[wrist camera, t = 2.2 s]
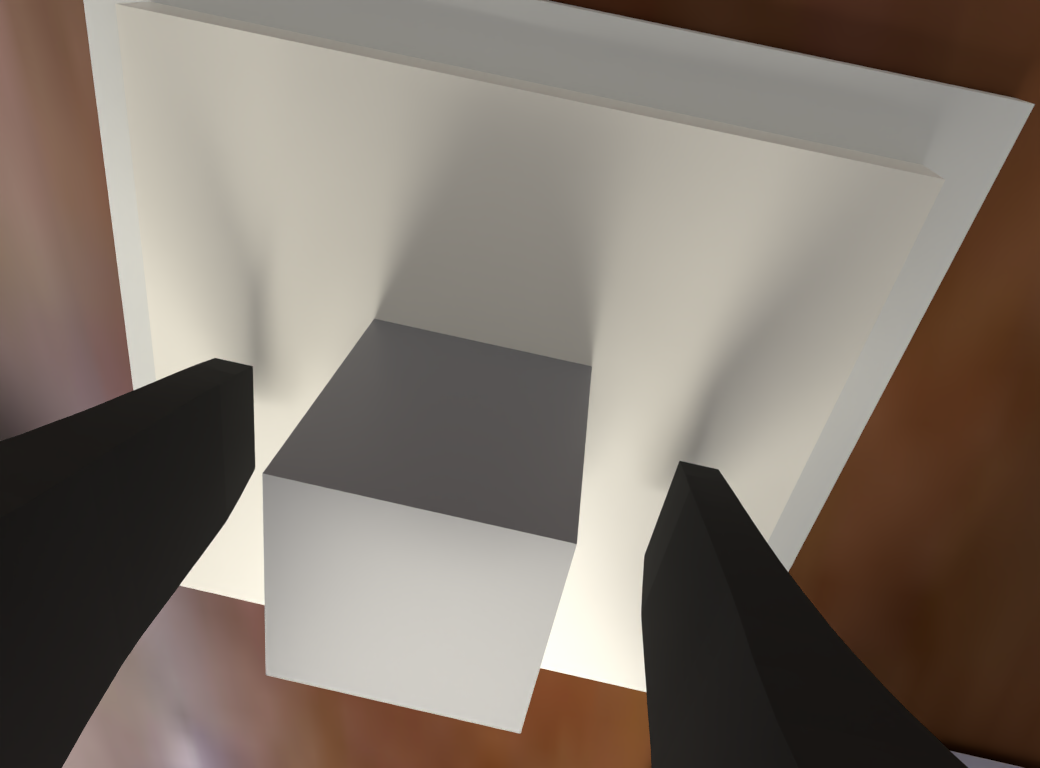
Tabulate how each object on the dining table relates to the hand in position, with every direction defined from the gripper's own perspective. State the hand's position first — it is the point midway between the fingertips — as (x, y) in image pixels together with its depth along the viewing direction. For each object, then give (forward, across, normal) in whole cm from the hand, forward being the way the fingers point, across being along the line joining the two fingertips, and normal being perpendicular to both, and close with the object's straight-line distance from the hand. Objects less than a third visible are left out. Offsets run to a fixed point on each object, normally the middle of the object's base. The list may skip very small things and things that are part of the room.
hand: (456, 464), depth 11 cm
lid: (+2, 0, 0) cm, 2 cm away
